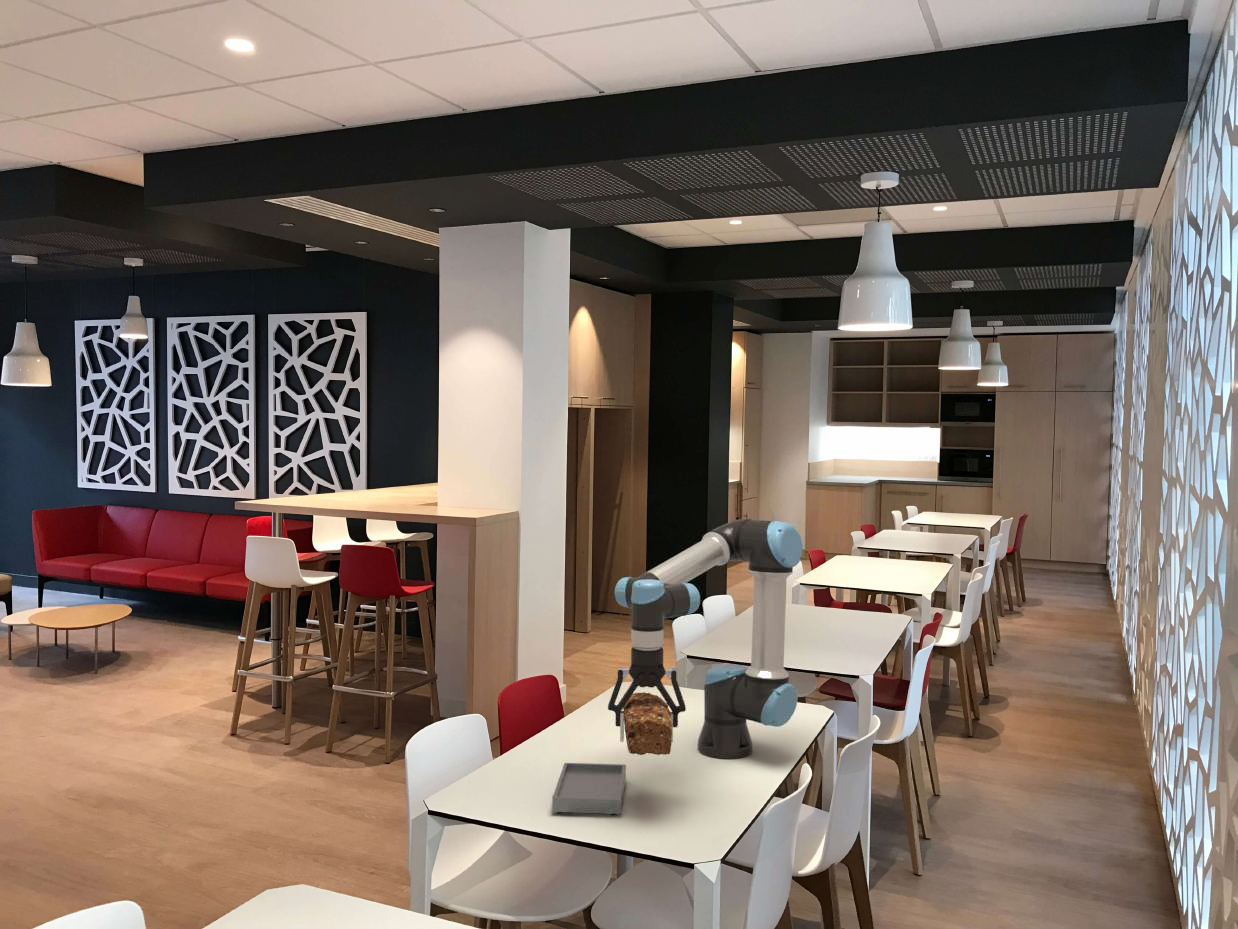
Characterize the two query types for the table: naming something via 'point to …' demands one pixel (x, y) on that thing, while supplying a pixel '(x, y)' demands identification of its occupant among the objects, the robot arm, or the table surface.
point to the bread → (647, 724)
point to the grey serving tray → (590, 788)
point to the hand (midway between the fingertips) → (646, 740)
